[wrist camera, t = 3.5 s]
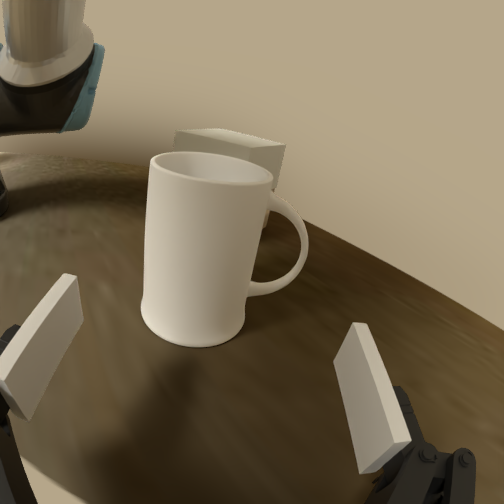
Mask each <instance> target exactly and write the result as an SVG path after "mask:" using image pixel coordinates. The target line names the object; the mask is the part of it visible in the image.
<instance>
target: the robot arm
mask: <svg viewBox="0 0 504 504" xmlns="http://www.w3.org/2000/svg"><path fill="white" fill-rule="evenodd" d="M85 1H86V0H2V5H3V18H4V28H5V37H6V44H5V45H4V46H3V45H2V44H1V43H0V137H1V136H9V135H20V134H36V133H62V132H64V131H75V130H80V129H82V128H83V127H84V126H85V125H86V124H87V122H88V120H89V117H90V114H91V110H92V106H93V102H94V97H95V90H96V88H97V84H98V80H99V76H100V71H101V67H102V63H103V58H104V51H105V49H104V46H102V45H99V44H97V43H94V40H93V33H92V31H91V29H90V28H89V27H88V26H87V25H86V24H84V23H83V16H84V7H85ZM7 208H8V192H7V188H6V185H5V182H4V180H3V177H2V174H1V171H0V216H1V215H2V214H3V213H4V212H5V211H6V210H7ZM83 321H84V319H83V313H82V307H81V301H80V294H79V287H78V279H77V276H74V275H69V274H65V273H64V274H63V275H62V276H61V277H60V278H59V280H58V281H57V282H56V283H55V284H54V286H53V287H52V288H51V289H50V290H49V292H48V293H47V294H46V295H45V297H44V298H43V299H42V300H41V302H40V303H39V304H38V305H37V307H36V308H35V309H34V310H33V312H32V313H31V314H30V316H29V317H28V318H27V320H26V321H25V322H24V324H23V325H22V326H19V325H16V324H15V325H13V326H12V327H10V328H9V329H7V330H6V331H5V333H4V334H3V335H2V337H1V338H0V504H38V503H37V501H36V498H35V496H34V493H33V491H32V488H31V486H30V483H29V481H28V478H27V475H26V473H25V470H24V467H23V464H22V461H21V458H20V455H19V452H18V449H17V445H16V442H15V438H14V435H13V431H12V427H11V423H10V419H9V417H8V415H7V413H8V411H9V409H11V411H12V412H13V414H14V415H15V416H16V417H18V418H20V419H23V420H25V421H27V422H30V420H31V418H32V416H33V414H34V412H35V409H36V407H37V405H38V403H39V401H40V399H41V397H42V395H43V393H44V391H45V389H46V387H47V385H48V383H49V381H50V380H51V378H52V376H53V374H54V372H55V370H56V368H57V366H58V365H59V363H60V361H61V359H62V357H63V356H64V354H65V352H66V350H67V348H68V347H69V345H70V343H71V341H72V340H73V338H74V336H75V335H76V333H77V331H78V330H79V328H80V326H81V324H82V323H83ZM333 363H334V366H335V370H336V374H337V378H338V382H339V386H340V390H341V394H342V398H343V403H344V407H345V411H346V415H347V419H348V424H349V428H350V433H351V437H352V442H353V446H354V451H355V455H356V460H357V465H358V470H359V474H365V473H373V472H376V471H377V470H379V469H380V468H381V467H382V466H383V469H384V473H383V474H381V475H380V476H379V477H377V478H376V479H375V480H374V481H373V482H372V483H373V484H374V483H376V482H377V481H378V482H377V483H376V485H375V487H374V489H373V490H372V492H371V494H370V495H369V497H368V498H367V500H366V502H365V503H364V504H474V497H475V478H476V460H475V457H474V455H473V453H472V452H471V451H470V450H469V449H466V448H460V449H458V450H456V451H455V452H454V453H453V454H450V453H442V452H438V451H437V450H436V448H435V447H434V446H433V445H432V444H430V443H427V442H425V440H424V438H423V435H422V433H421V430H420V427H419V424H418V422H417V419H416V416H415V414H413V412H414V411H413V409H412V406H410V405H411V404H410V401H409V398H408V396H407V394H406V393H405V392H404V391H403V389H402V388H401V387H400V386H392V385H391V382H390V379H389V377H388V374H387V372H386V369H385V367H384V364H383V362H382V359H381V357H380V354H379V352H378V349H377V347H376V345H375V342H374V340H373V337H372V335H371V333H370V330H369V328H368V326H367V324H365V323H355V322H353V323H352V325H351V327H350V329H349V331H348V333H347V335H346V337H345V339H344V341H343V343H342V345H341V347H340V349H339V351H338V353H337V355H336V357H335V359H334V361H333Z"/></svg>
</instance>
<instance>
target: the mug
mask: <svg viewBox="0 0 504 504" xmlns="http://www.w3.org/2000/svg"><path fill="white" fill-rule="evenodd" d="M272 182H273V175H272V174H271V173H270V172H269V171H268V170H266V169H264V168H262V167H260V166H258V165H256V164H253V163H251V162H248V161H245V160H241V159H237V158H233V157H229V156H224V155H218V154H211V153H202V152H170V153H164V154H160V155H157V156H155V157H153V158H152V159H151V162H150V170H149V181H148V193H147V207H146V224H145V248H144V293H143V299H142V303H141V313H142V317H143V319H144V321H145V323H146V325H147V326H148V327H149V328H150V329H151V330H152V331H153V332H154V333H155V334H156V335H158V336H159V337H161V338H163V339H165V340H167V341H169V342H171V343H174V344H177V345H181V346H187V347H210V346H215V345H218V344H221V343H224V342H226V341H228V340H230V339H231V338H233V337H234V336H235V335H236V334H237V333H238V332H239V331H240V330H241V328H242V326H243V324H244V320H245V303H246V298H247V297H250V296H259V295H265V294H269V293H272V292H275V291H277V290H280V289H281V288H283V287H285V286H286V285H288V284H289V283H290V282H291V281H292V280H294V279H295V277H296V276H297V275H298V274H299V272H300V271H301V269H302V268H303V266H304V263H305V261H306V258H307V254H308V234H307V230H306V227H305V224H304V222H303V220H302V218H301V217H300V215H299V214H298V212H297V211H296V210H295V209H294V208H293V207H292V206H291V205H290V204H289V203H288V202H287V201H286V200H284V199H283V198H281V197H279V196H278V195H276V194H275V193H273V192H272V190H271V187H272ZM266 210H271V211H275V212H278V213H280V214H282V215H284V216H285V217H286V218H288V219H289V220H290V221H291V222H292V223H293V225H294V226H295V227H296V229H297V231H298V233H299V235H300V239H301V253H300V257H299V259H298V261H297V263H296V265H295V266H294V267H293V269H292V270H291V271H290V272H289V273H287V274H286V275H285V276H283V277H281V278H279V279H277V280H275V281H271V282H266V283H257V282H253V281H250V280H251V276H252V271H253V267H254V262H255V258H256V254H257V249H258V245H259V240H260V236H261V231H262V227H263V223H264V218H265V214H266Z"/></svg>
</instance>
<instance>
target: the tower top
mask: <svg viewBox="0 0 504 504" xmlns="http://www.w3.org/2000/svg"><path fill="white" fill-rule="evenodd" d="M285 147H286V145H285V144H282V143H278V142H275V141H270V140H267V139H263V138H259V137H255V136H251V135H247V134H243V133H238V132H234V131H230V130H225V129H194V130H193V129H192V130H175V137H174V144H173V152H202V153H211V154H218V155H224V156H229V157H233V158H237V159H241V160H245V161H248V162H251V163H253V164H256V165H258V166H260V167H262V168H264V169H266V170H268V171H269V172H270V173H271V174H272V175H273V182H272V187H271V190H272V189H274V188H276V186H277V182H278V177H279V173H280V169H281V164H282V160H283V156H284V151H285Z"/></svg>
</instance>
